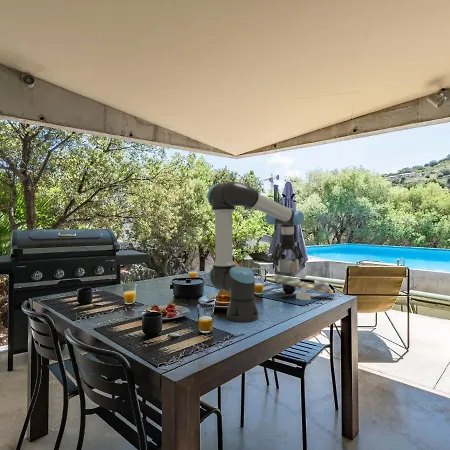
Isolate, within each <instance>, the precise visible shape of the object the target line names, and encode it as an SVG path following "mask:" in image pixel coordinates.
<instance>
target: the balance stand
mask: <svg viewBox="0 0 450 450" xmlns="http://www.w3.org/2000/svg"><path fill="white" fill-rule="evenodd" d="M311 296H312V293H311V292H307V289H305V286H301V288H300V292H297V293H296V296H295V300H298V299H299V300H300V301H301V300H302V301H303V300H304V301H311Z"/></svg>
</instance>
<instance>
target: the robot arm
mask: <svg viewBox="0 0 450 450" xmlns="http://www.w3.org/2000/svg"><path fill="white" fill-rule="evenodd" d="M206 199H207V202H208V203H209V206H211V211H212V212H213V213H214V229H215V230H214V232H215V234H214V236H215V238H214V239H215V244H214V245H215V261H214V262H213V263H212V267H211V269H210V270H209V273H208V281H209V283H210V285H211V286H212V288H214V289H216V290H218V291H223V292H226V293H229V304H228V307H227V311H226V319H227V320H228V321H232V322H237V323H249V322H250V323H251V322H254V321H257V320H258V319H259V311H258V308H257V304H256V302H255V300H256V299H255V295H256V294H255V293H256V292H255V290H256V289H255V286H256V285H255V282H256V281H255V280H256V278H255V272H254V270H253V269H252V268H249V267H247V266H246V267H245V266H236V263H235V261H234V260H233V258H234V257H233V213H234V212H235V210H236V207H245V208H247V209H252V208H253V209H254V210H256V211H259V212H262V213H263V214H265V216H264V219H265V222H266V224H267V225H270V226H275V225H276V226H280V234H281V235H280V242H276V243H275V248H274V251H273V255H272V260H275V266H276V271H277V272H280V261H281V260H280V258H281V257H282V255H283V253H284V252H285V251H289V250H290V251H291V252H292V254H293V255H294V257H295V259H294V260H295V261H294V262H295V263H296V270H295V271H296V272H297V271H299V267H300V265H301V259H303V258H304V256H303V253H302V250H301V248H300V242H298V241H295V234H294V233H295V226H301V225H302V224H303V223H304V221H305V215H304V213H303V211H301V210H294V208H292V207H287V206H284V205H283V204H280V203H279V202H276V201H274V200H272V199H271V198H269V197H266V196H265V195H263V194H260V192H259V190H257V189H255V188H253V187H251V186H250V185H249V186H248V185H247V184H244V183H242V182H238V181H230V182H221V183H220V182H219V183H217V184H214V185H212V186H211V187H210V188H209V189H208V192H207V198H206ZM294 246H295V247H294ZM280 247H281V248H280ZM295 248H296V249H295ZM279 249H280V250H279ZM280 273H281V272H280Z"/></svg>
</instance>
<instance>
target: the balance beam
mask: <svg viewBox="0 0 450 450" xmlns="http://www.w3.org/2000/svg"><path fill="white" fill-rule="evenodd" d="M313 280H314V281H313V285H312V284H308V283H304V282H303V283H302V282H301V279H300V278H294V277H290V276H285V275H280V274H277V276H276V277H275V279H274V282H275V283H278V284H282V285H287V286H292V287H297V288H300V289H301V286H305V289H306V290H309V291H315V292H319V293H324V294H328V295H334V290H333V289H331V288H330V284H329V282H326V281H322V280H316V279H313Z"/></svg>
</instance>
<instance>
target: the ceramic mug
mask: <svg viewBox="0 0 450 450" xmlns="http://www.w3.org/2000/svg"><path fill="white" fill-rule="evenodd" d="M295 271H297V270H296V261H294V260H290V259H283V258H282V259H281V260H280V273H287V274H293V273H295Z"/></svg>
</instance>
